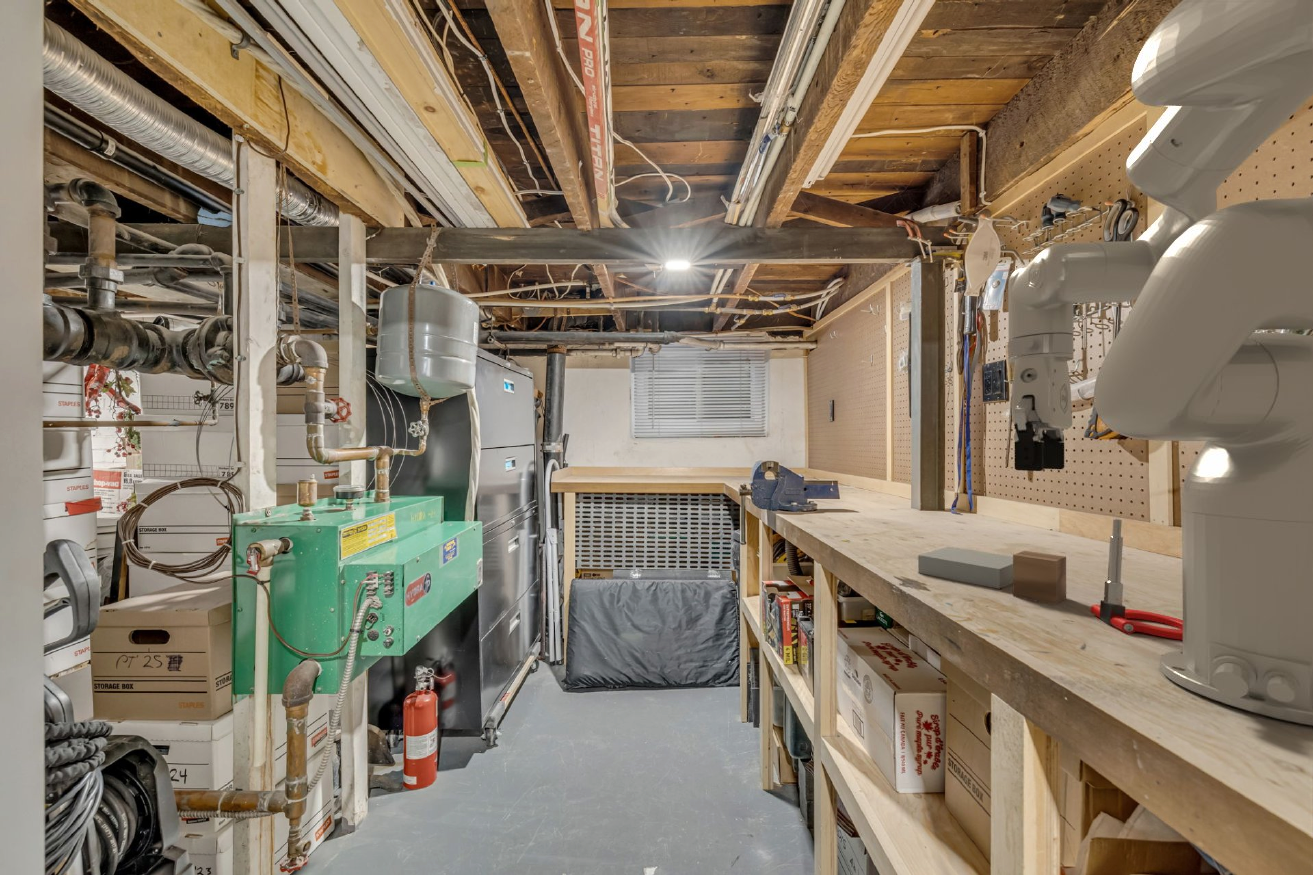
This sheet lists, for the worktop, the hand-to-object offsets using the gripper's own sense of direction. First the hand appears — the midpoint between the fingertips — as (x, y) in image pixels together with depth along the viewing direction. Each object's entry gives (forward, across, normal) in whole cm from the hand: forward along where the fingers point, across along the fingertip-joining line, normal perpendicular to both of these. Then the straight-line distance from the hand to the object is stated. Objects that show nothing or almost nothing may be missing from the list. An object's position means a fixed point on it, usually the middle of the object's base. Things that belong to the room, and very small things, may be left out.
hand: (1040, 469), depth 73 cm
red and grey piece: (+19, -4, -12) cm, 23 cm away
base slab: (+18, +6, +11) cm, 22 cm away
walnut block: (+18, 0, 0) cm, 18 cm away
